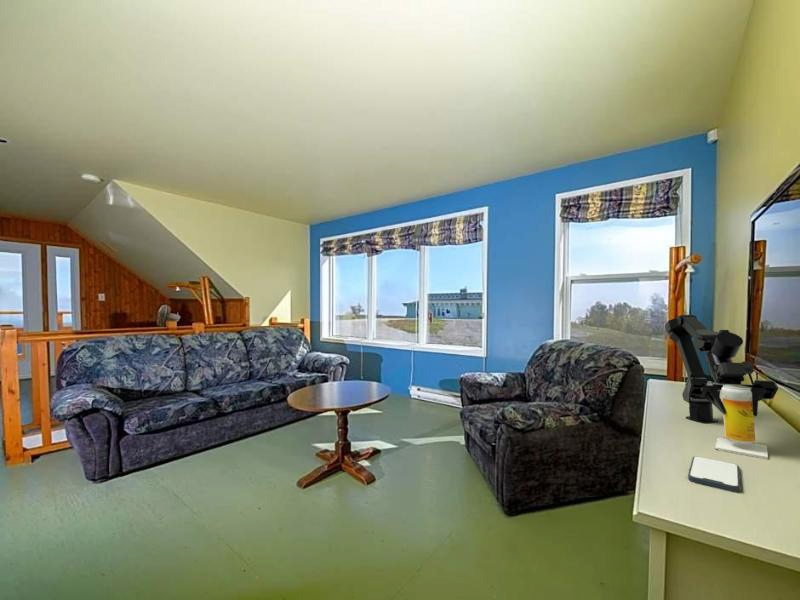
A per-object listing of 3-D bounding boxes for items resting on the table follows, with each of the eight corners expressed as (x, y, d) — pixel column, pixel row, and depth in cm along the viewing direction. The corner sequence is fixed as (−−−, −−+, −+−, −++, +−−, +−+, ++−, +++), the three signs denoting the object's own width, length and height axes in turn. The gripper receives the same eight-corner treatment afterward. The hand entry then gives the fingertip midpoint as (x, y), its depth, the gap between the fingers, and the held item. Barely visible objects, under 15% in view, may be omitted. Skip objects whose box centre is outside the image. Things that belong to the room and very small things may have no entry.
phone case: (692, 461, 90) (687, 482, 79) (692, 455, 91) (686, 475, 79) (740, 471, 84) (741, 495, 73) (739, 464, 84) (740, 488, 73)
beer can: (756, 446, 92) (751, 389, 92) (725, 441, 96) (720, 387, 96) (754, 439, 96) (750, 385, 96) (725, 435, 100) (721, 383, 101)
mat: (717, 439, 103) (717, 437, 103) (766, 447, 95) (766, 445, 95) (715, 449, 96) (715, 447, 96) (768, 459, 88) (767, 456, 88)
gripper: (687, 350, 104) (701, 395, 94) (772, 351, 96) (797, 401, 86) (682, 372, 111) (694, 416, 101) (761, 374, 103) (783, 423, 92)
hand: (739, 414), depth 95 cm, fingers closed on beer can, 6 cm apart
